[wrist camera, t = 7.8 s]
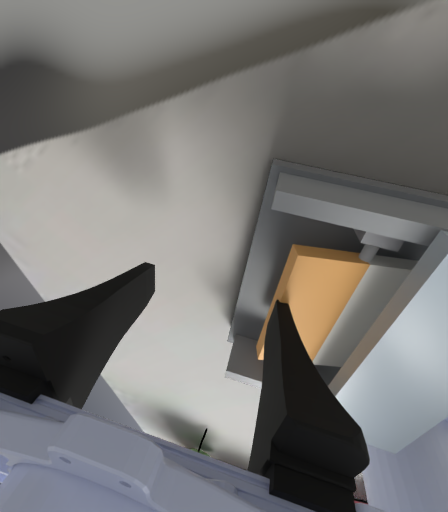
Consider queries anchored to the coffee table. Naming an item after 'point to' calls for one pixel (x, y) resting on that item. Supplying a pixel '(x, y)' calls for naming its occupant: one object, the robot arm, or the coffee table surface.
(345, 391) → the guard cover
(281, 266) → the box
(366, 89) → the coffee table surface
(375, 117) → the coffee table surface
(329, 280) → the rocker
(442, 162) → the coffee table surface
